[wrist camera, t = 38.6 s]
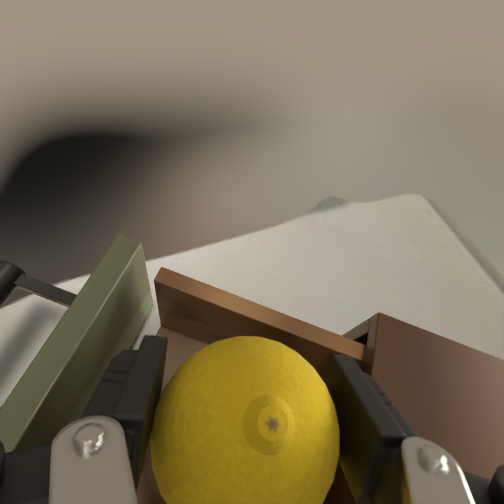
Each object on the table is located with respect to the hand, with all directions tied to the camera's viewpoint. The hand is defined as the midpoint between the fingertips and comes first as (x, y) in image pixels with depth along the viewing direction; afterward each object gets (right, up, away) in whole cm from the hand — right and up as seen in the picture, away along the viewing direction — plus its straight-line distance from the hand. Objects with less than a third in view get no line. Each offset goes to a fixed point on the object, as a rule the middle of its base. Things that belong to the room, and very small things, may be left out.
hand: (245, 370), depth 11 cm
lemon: (-1, -4, +3) cm, 5 cm away
